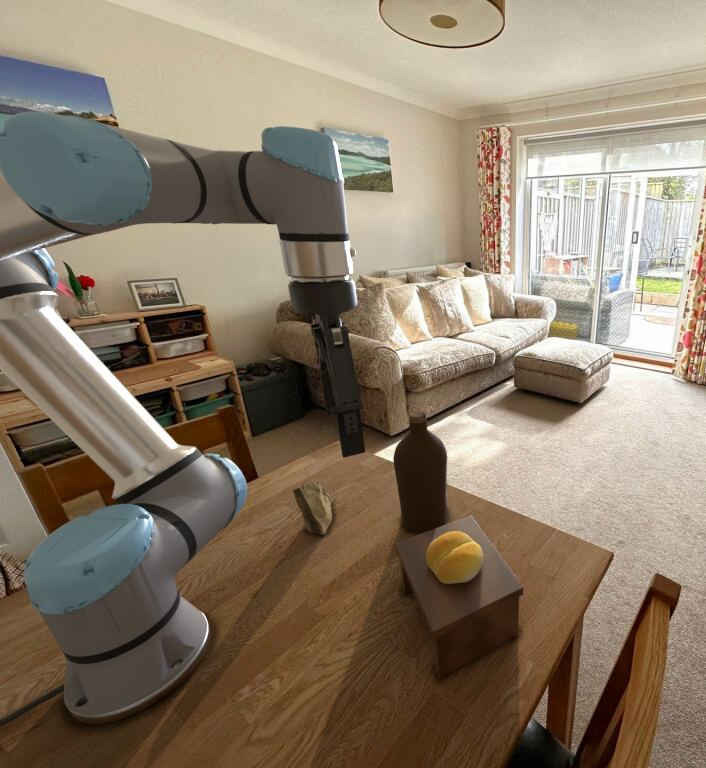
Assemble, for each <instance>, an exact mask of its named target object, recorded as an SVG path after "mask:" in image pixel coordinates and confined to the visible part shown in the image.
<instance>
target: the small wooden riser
mask: <svg viewBox="0 0 706 768" xmlns="http://www.w3.org/2000/svg"><path fill="white" fill-rule="evenodd" d="M451 531H459V532H463V533H465V534H467V535H468V536H469V537H470V538H471V539H472V540H473V541H474V542H476V543H477V544H478V545H479V546H480V547H481V549H482V553H483V563H482V566H481V569H480V570H479V572H478V574H477V575H476V576H475V577H474V578H473V579H471V580H470V581H468V582H464V583H453V584H445V583H443V582H441V581H440V580H439V579H438V578H437V576H436V574H435V573H434V572H433V571H432V570H431V569H430V568H429V566H428V564H427V561H426V552H427V549H428V547H429V545H430V544H431V542H433V541H434V540H435V539H437V538H438V537H439V536H441V535H443V534H445V533H447V532H451ZM394 551H395V553H396V555H397V557H398V559H399V567H400V574H401V584H402V585H401V586H402V589H403V592H404V594H408V593H410V592H413V595H414V597H415V600H416V601H417V604H418V606H419V609H420V611H421V613H422V616H423V619H424V620H425V623H426V625H427V627H428V630H429V632H430V635H431V637H432V639H433V651H434V664H435V671H436V673H437V676H438V678H439V679H440V678H442V677H444V676H446V675H448V674H450V673H451V672H453V671H454V670H457V669H459V668H460V667H462V666H464V665H466V664H469V663H470V662H471V661H473V660H475V659H476V658H479V657H480V656H482V655H485V654H486V653H488V652H489V651H491V650H493V649H495V648H496V647H499V646H500V645H502V644H504V643H505V642H508V641H510V640H511V639H513V638H515V637H516V636H518V635H519V618H520V617H519V616H520V613H519V612H520V597H522V596H524V586H523V584H522V583H521V581H519V579H518V578H517V576H516V575H515V574H514V572H513V570H512V569H511V568H510V567H509V565H508V564H507V563H506V561H505V560H504V558H503V557H502V556H501V554H500V553H499V552H498V550H497V549H496V547H495V546H494V545H493V543H492V542H491V541H490V539H489V538H488V537H487V535H486V533H485V532H484V531H483V530H482V529H481V527H480V525H479V524H478V523H477V521H476V520H475V518H473V516H472V515H469V516H466V517H463V518H460V519H458V520H454V521H452V522H449V523H446V524H443V525H441V526H440V527H438V528H435V529H433V530H430V531H427V532H420V533H418V534H416V535H413V536H411V537H407V538H405V539H403V540H400V541H397V542H395V543H394Z"/></svg>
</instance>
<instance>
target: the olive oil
mask: <svg viewBox="0 0 706 768" xmlns="http://www.w3.org/2000/svg"><path fill="white" fill-rule="evenodd" d="M408 416H409V420H408V421H409V422H408V424H409V431H408V432H407V433H406V435H405V436H404V437H403V438H402V439H400V441H399V442H398V443H397V444H396V447H395V449H394V453H393V460H392V461H393V467H394V474H395V480H396V485H397V492H398V498H399V505H400V513H401V514H400V515H401V521H402V524H403V526H404V527H405V529H407V530H409V531H411V532H414V533H424V532H427V531H430V530H433V529H435V528H438V527H441V526H443V525H444V523H445V522H446V520H447V516H448V512H447V509H448V507H447V506H448V505H447V503H448V502H447V500H448V499H447V498H448V497H447V496H448V495H447V494H448V491H447V489H448V452H447V449H446V445H445V444H444V442H443V441H442V440H441V438H440V437H438V436H437V435H436V434H434V433H433V432H431V431H430V430H428V419H427V413H426V412H425V411H424V410H414V411H411V412H410V413H409V415H408Z"/></svg>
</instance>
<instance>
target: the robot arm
mask: <svg viewBox="0 0 706 768" xmlns="http://www.w3.org/2000/svg"><path fill="white" fill-rule="evenodd" d="M3 126H4V128H3V130H2V131H0V371H1V372H2V373H3V374H4V375H5V376H6V377H7V378H8V379H9V380H10V381H11V382H12V383H13V384H14V385H15V386H16V387H17V388H18V389H19V390H20V391H21V392H22V393H23V394H24V395H25V396H26V397H28V398H29V400H30V401H32V403H34V405H36V406H37V407H38V408H39V410H40V411H42V412H43V413H44V414H45V415H46V416H47V417H48V418H49V419H50V420H51V421H52V422H53V423H54V424H55V425H56V426H57V427H58V428H59V429H60V430H61V431H62V432H63V434H65V435H66V436H67V437H68V438H69V439H70V440H71V441H72V442H73V443H74V444H75V445H76V446H78V447H79V448H80V449H81V450H82V451H83V453H85V454H86V456H88V457H89V458H90V459H91V460H92V462H93V463H95V464H96V465H97V466H98V467H99V468H100V469H101V470H102V471H103V472H104V473H105V474H106V475H107V476H108V477H109V478H110V479H111V480H112V481H113V483H114V486H113V490H112V494H111V499H112V500H113V501H114V502H115V503H116V504H112V505H108V506H104V507H100V508H98V509H94V510H93V511H92V512H91V513H90V514H88V515H84V514H83V515H79V516H77V517H75V518H74V519H72V520H69V521H68V522H66V523H64V524H63V525H61V526H60V527H58V528H57V529H56V530H54V531H53V532H51V533H49V534H48V535H47V536H46V537H45V538H44V539H43V540H41V541H40V542H39V543H38V545H36V546H35V548H34V549H33V551H32V552H31V553H30V554H29V556H28V557H27V559H26V561H25V564H24V567H23V575H22V579H23V581H24V584H25V587H26V591H27V593H28V598H29V602H30V604H31V605H32V606H33V608H34V609H35V610H36V611H38V612H39V614H40V616H41V618H42V619H43V621H44V623H45V624H46V626H47V628H48V630H49V631H50V633H51V635H52V636H53V638H54V640H55V641H56V643H57V645H58V647H59V648H60V650H61V652H62V653H63V655H64V657H65V660H66V661H65V670H64V671H65V672H64V683H63V684H62V685H60V686H58V687H56V688H54V689H52V690H50V691H49V692H47V693H45V694H43V695H41V696H39V697H38V698H36V699H34V700H32V701H30V702H29V703H27V704H25V705H23V706H22V707H20V708H19V709H17V710H15V711H14V712H11V713H9V714H8V715H6V716H4V717H2V718H0V727H3V726H4V725H6V724H8V723H11V722H12V721H14V720H16V719H18V718H19V717H21V716H22V715H24V714H26V713H27V712H29V711H31V710H32V709H34V708H36V707H37V706H39V705H41V704H43V703H45V702H46V701H47V702H48V701H49V700H50V699H52V698H54V697H56V696H57V695H60V694H61V693H63V702H64V704H65V706H66V708H67V711H69V713H70V715H71V716H72V717H73V718H74V719H75V720H76V721H78V722H80V723H83V724H88V725H103V724H109V723H113V722H118V721H120V720H124V719H127V718H129V717H131V716H134V715H136V714H138V713H140V712H142V711H144V710H146V709H148V708H149V707H151V706H153V705H155V704H156V703H157V702H159V701H161V700H162V699H163V698H165V697H166V696H167V695H169V694H171V693H172V692H173V691H174V690H175V689H177V688H178V687H179V686H180V685H181V684H182V683H183V682H184V681H185V680H187V678H188V677H189V676H190V675H191V674H193V672H194V671H195V669H197V667H198V666H199V664H201V662H202V660H203V658H204V657H205V655H206V653H207V651H208V648H209V647H210V643H211V635H212V633H211V628H210V624H209V622H208V619H207V617H206V615H205V614H204V613H203V612H202V611H201V610H200V609H198V608H197V607H195V606H194V605H193V604H192V603H191V602H189V601H188V600H187V599H185V598H184V597H183V596H181V594H180V592H179V589H178V587H177V583H176V582H175V577H176V575H177V574H178V573H179V572H180V571H181V570H182V569H183V568H184V567H186V565H187V564H188V563H189V562H190V561H191V560H192V559H193V558H194V557H195V556H196V555H197V554H198V553H199V552H201V551H202V549H203V548H205V546H207V545H208V544H209V543H211V541H212V540H213V539H214V538H215V537H216V536H217V535H218V534H219V533H220V532H221V531H222V530H223V529H225V528H227V527H228V526H229V525H230V524H231V523H232V522H233V520H234V518H235V517H236V516H237V515H238V513H239V512H241V511H242V509H243V508H244V506H245V504H246V501H247V495H248V484H247V480H246V477H245V476H244V473H243V472H242V470H241V469H240V468H239V466H238V465H236V463H234V462H233V461H232V460H230V459H229V458H227V457H221V455H220V454H217V453H204V454H203V453H202V452H201V450H199V449H198V447H197V446H195V445H194V446H193V445H183V444H179V443H177V441H175V439H174V438H173V437H172V436H171V435H170V434H169V433H168V432H167V431H166V430H165V428H163V426H162V425H161V424H160V423H159V422H158V421H157V420H156V419H155V418H154V417H153V415H151V414H150V412H149V411H148V410H147V409H146V407H144V405H142V404H141V403H140V401H139V400H138V398H136V397H135V396H134V395H133V393H131V391H129V390H128V389H127V387H126V386H125V385H124V384H123V383H122V382H121V381H120V380H119V379H118V378H117V376H116V375H115V374H114V373H113V372H112V371H111V370H110V369H109V368H108V367H107V366H106V365H105V364H104V362H103V361H102V360H101V359H100V358H99V357H98V356H97V355H96V354H95V353H94V352H93V351H92V349H91V348H90V347H89V346H88V345H87V344H86V343H85V342H84V341H83V340H82V339H81V338H80V336H78V334H77V333H76V332H75V331H74V330H73V329H72V328H71V326H69V325H68V323H67V322H66V321H65V320H64V319H63V318H62V317H61V316H60V315H59V314H58V313H57V309H58V307H59V304H60V300H61V297H60V295H58V293H57V292H56V289H57V287H58V284H59V274H58V272H57V271H55V270H54V269H53V268H55V267H56V264H55V261H54V260H53V259H52V257H51V255H50V254H49V253H48V251H47V250H46V248H50V247H53V246H57V245H62V244H65V243H69V242H73V241H76V240H80V239H83V238H87V237H90V236H95V235H100V234H103V233H104V234H105V233H109V232H113V231H117V230H120V229H124V228H127V227H132V226H136V225H145V224H201V225H202V224H203V225H209V224H211V225H220V224H229V225H230V224H233V225H236V224H237V225H244V224H245V225H256V224H257V225H276V227H277V232H278V237H279V246H280V252H281V257H282V263H283V268H284V274H285V275H286V276H287V277H290V278H291V279H290V280H289V282H287V287H288V293H289V298H290V305H291V308H292V311H294V312H295V313H297V314H300V315H307V316H311V320H312V323H309V324H310V333H311V335H312V338H313V342H314V348H315V352H316V353H315V354H316V359H315V360H316V363H317V365H318V371H319V372H320V374H319V375H320V376H319V377H320V381H321V387H322V394H323V399H324V400H323V401H324V406H325V412H326V415H327V417H328V416H333V415H335V418H336V424H337V431H338V437H339V444H340V451H341V456H342V458H343V459H345V458H349V457H352V456H353V457H354V456H357V455H360V454H365V453H366V447H365V439H364V432H363V431H364V429H363V424H362V416H361V410H363V408H364V403H363V401H362V397H361V393H360V387H359V383H358V378H357V373H356V367H355V363H354V358H353V353H352V348H351V342H350V330H349V328H348V325H347V324H345V323H344V321H343V320H342V319H341V316H340V315H341V314H343V313H348V312H351V311H353V310H355V309H356V308H357V307H358V297H357V289H356V288H357V287H356V281H354V279H353V278H351V277H349V276H351V275H352V274H353V273H354V268H353V267H354V266H353V260H352V258H354V257H356V256H357V251H356V249H355V248H350V247H351V243H350V235H349V225H348V216H347V207H346V206H347V205H346V197H345V195H346V194H345V185H344V184H345V178H344V177H343V172H342V166H341V162H340V155H339V150H338V145H337V143H336V142H335V140H334V139H333V138H332V136H330V135H328V134H326V133H324V132H322V131H319V130H315V129H310V128H305V127H297V126H285V125H283V126H282V125H281V126H279V125H278V126H273V127H272V126H271V127H266V128H264V129H263V130H262V131H261V134H260V135H261V136H260V137H261V144H260V146H261V149H259V150H251V151H247V150H227V149H226V150H223V149H214V148H209V147H203V146H198V145H196V144H191V143H186V142H181V141H178V140H177V141H176V140H172V139H168V138H163V137H159V136H155V135H151V134H146V133H142V132H138V131H134V130H130V129H125V128H122V127H117V126H114V125H109V124H106V123H102V122H99V121H97V120H94V119H92V118H88V117H80V116H77V115H73V114H71V115H70V114H57V113H51V112H50V113H49V112H44V111H33V110H32V111H22V112H18V113H15V114H13V115H11V116H9V117H8V118H6V119H5V120H4V121H3Z"/></svg>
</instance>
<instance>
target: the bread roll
mask: <svg viewBox="0 0 706 768" xmlns="http://www.w3.org/2000/svg"><path fill="white" fill-rule="evenodd" d="M426 561H427V564H428V566H429V568H430V569H431V570H432V571H433V572H434V573H435V574H436V576H437V578H438V579H439V580H440V581H441V582H443V583H445V584H453V583H464V582H468V581H470V580H471V579H473V578H474V577H475V576H476V575H477V574H478V572H479V570H480V569H481V566H482V563H483V553H482V549H481V547H480V546H479V545H478V544H477V543H476V542H474V541H473V540H472V539H471V538H470V537H469V536H468V535H467V534H465V533H463V532H459V531H451V532H447V533H445V534H443V535H441V536H439V537H438V538H437V539H435V540H434V541H433V542H431V544H430V545H429V547H428V549H427V552H426Z"/></svg>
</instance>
